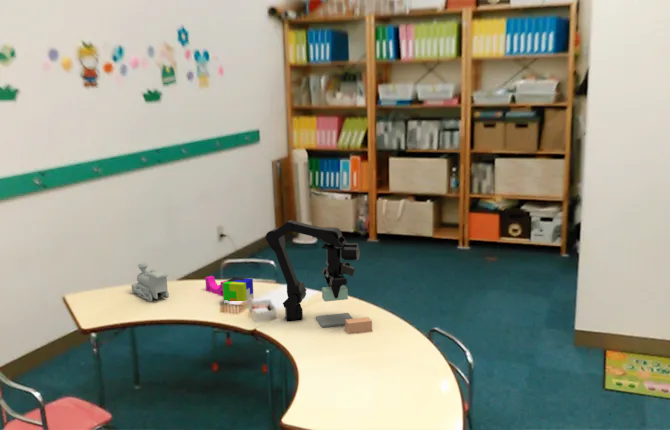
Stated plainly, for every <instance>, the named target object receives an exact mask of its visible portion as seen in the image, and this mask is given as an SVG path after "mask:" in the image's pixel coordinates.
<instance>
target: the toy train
mask: <svg viewBox="0 0 670 430" xmlns="http://www.w3.org/2000/svg"><path fill="white" fill-rule="evenodd" d="M148 266H149V264H148V262H139V263H138V265H137V267H138V269H139V270H140V273H138V274H137V276H136V281H137V283H132V284H131V285H130V287H131V292H132V293H133V294H137V296H138V297H141V298H142V299H144V300H147V302H148V303H150V302H151V303H152V302H153V298H154V299H156V300H158V299H159V296H158V294H159V295H161V296H164V297H165V298H168V299H169V295H170V293H169V290H168V278H167V277H169V274H168V273H166V272H163V271H160V270H159V271H158V270H157V271H156V269H154V268H151V269H150V270H149V271H148V270H147V268H148Z"/></svg>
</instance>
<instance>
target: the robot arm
mask: <svg viewBox="0 0 670 430" xmlns="http://www.w3.org/2000/svg"><path fill="white" fill-rule="evenodd" d="M290 232H292V233H293V232H294V233H295V234H302V235H305V236H309V237H313V238H316V239H319V240H320V241H322V242H324V244H323V245H322V246H321V249H323V250H325V249H326V261H325V264H326V267H325V266H324V267H323V268H322V273H321V274H322V276H323V278H324V280H325V282H326V284H327V287H331V289H332V292H333V295H334V297H335V298H338V295H339V291H340V287H341V286H344V285H345V286H346V285H348V279H347V278H346V276H344V275H348V276H351V277H354V274H355V271H356V268H355V267H354V266H353V265H351V263H350V262H349V261H359V259H360V257H361V251H360V247H359V243H358V242H357V243H356V242H355V243H348V241H347V240H346V239H345V237H344V236H343V233H342V231H341V229H340V228H338V227H334V226H333V227H332V226H329V227H328V226H325V227H324V226H316V225H312V224H309V223H303V222H298V221H296V220H293V219H291V220H287V221H286V222H285V224H283V225H280V226H279V227H275V228H273V229H272V230H270V231H267V232H266V235H265V237H264V238H265V241H266V243H267V244H268V246H269V248H270V249H271V250H272V251H273V253H275V256H276V259H277V261H278V264H279V267H280V270H281V273H282V275H283V278H284V281H285V283H286V295H287V299H286V300H284V301H283V303H282V305H283V307H284V311H285V312H284V313H285V315H284V319H285V321H286V322H287V323H288V322H290V323H291V322H299V321H303V308H302V304H301V303H302V301H303V300H304V299H305V298H306V297H307V296H306V295H307V288H306V286H305V283H304V281H301V282H300V281H299V279H298V278H297V276H296V274H295V273H296V272H295V271H294V268H293V264H292V262H291V260H290V257H289V254H288V251H287V250H286V237H285V236H286V235H287V234H288V233H290ZM342 259H343V260H344V261H345V262H344V263H343V262H342Z"/></svg>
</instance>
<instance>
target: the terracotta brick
mask: <svg viewBox="0 0 670 430" xmlns="http://www.w3.org/2000/svg"><path fill="white" fill-rule="evenodd" d="M344 327H345V328H344V329H345V332H346V333H347V335H352V334H360V333H362V334H363V333H369V332H371V333H372V332H373V320H372V319H371V318H370V317H369V316H365V317H356V318H355V317H354V318H353V319H345V326H344Z"/></svg>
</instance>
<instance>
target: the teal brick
mask: <svg viewBox="0 0 670 430" xmlns="http://www.w3.org/2000/svg"><path fill="white" fill-rule="evenodd" d="M348 289H349V288H348V287H347V286H346V285H342V286H341V287H340V291H339V295H338V298H335V297H334V295H333V292H332V289H331V287H329V286H323V287H322V288H321V299H323V301H324V302H333V301H343V300H345V301H346V300H349V293H348V291H349V290H348Z"/></svg>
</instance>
